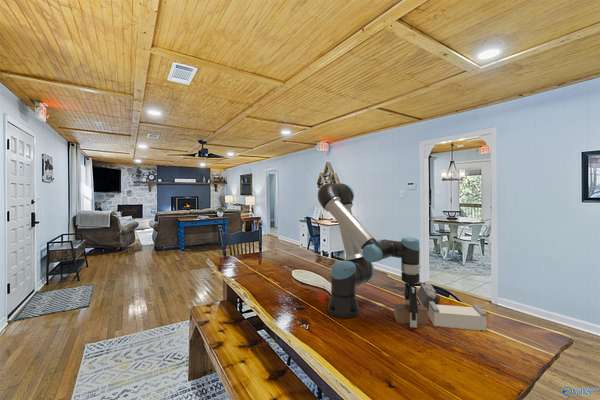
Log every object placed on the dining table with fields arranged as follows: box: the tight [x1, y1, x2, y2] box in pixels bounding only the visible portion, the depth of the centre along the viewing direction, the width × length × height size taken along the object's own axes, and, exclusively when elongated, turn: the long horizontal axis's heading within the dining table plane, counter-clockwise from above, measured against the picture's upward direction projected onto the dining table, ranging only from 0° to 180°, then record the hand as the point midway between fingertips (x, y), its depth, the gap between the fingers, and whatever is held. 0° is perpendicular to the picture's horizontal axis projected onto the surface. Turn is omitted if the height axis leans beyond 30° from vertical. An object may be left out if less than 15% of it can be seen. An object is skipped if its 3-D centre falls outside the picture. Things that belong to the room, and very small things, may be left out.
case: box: [393, 303, 429, 325], centre depth 121 cm, size 13×6×6 cm, turn 84°
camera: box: [416, 281, 441, 311], centre depth 138 cm, size 9×16×10 cm, turn 169°
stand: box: [428, 301, 488, 332], centre depth 117 cm, size 20×9×7 cm, turn 77°
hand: (410, 319), depth 121 cm, fingers open, 12 cm apart
